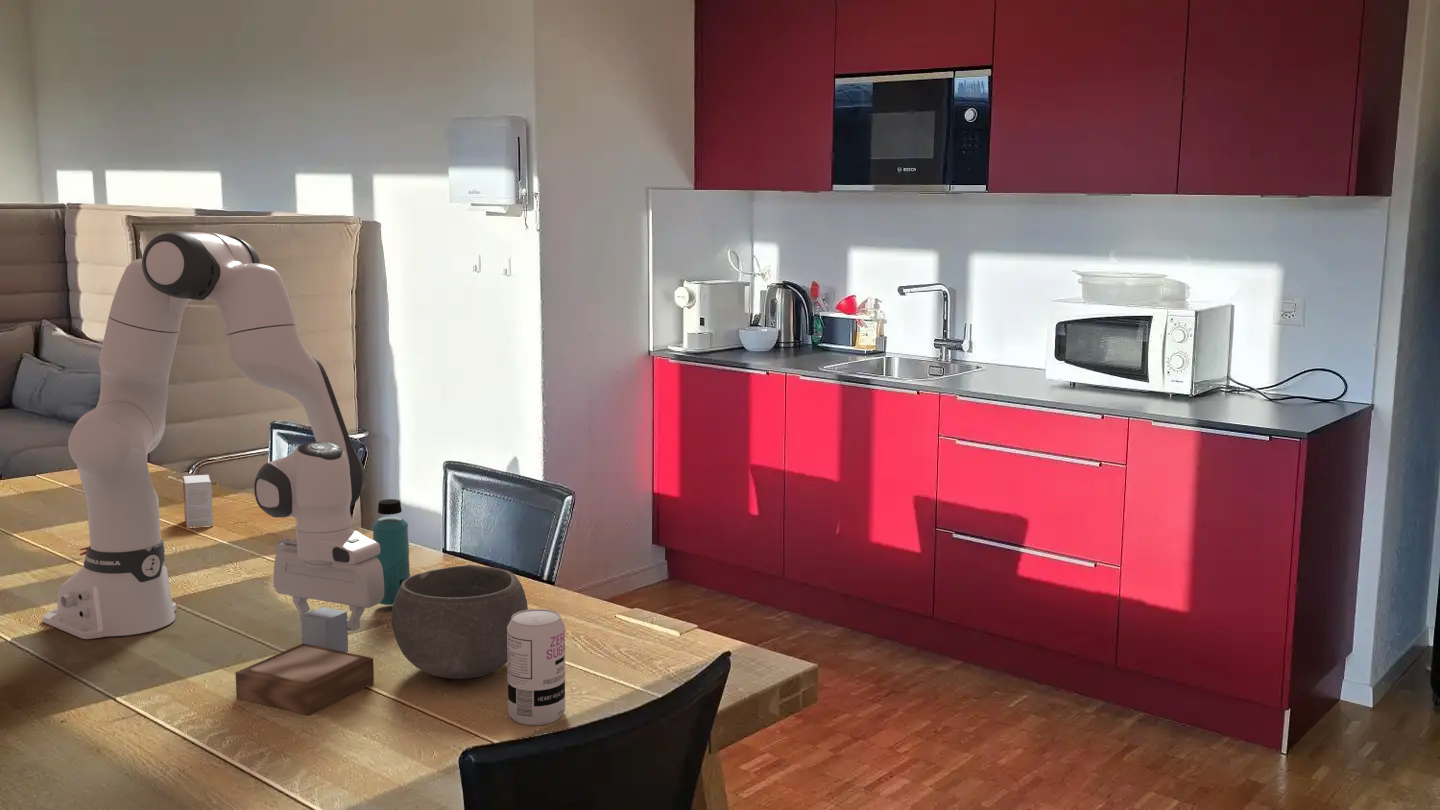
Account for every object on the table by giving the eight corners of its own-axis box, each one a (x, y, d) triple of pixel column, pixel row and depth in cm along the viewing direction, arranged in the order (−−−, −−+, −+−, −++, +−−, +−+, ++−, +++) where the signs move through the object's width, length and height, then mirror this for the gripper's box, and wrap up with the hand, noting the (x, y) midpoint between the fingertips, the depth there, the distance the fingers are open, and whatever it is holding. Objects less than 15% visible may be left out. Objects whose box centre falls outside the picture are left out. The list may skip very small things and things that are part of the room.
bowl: (463, 708, 187) (462, 610, 184) (363, 678, 198) (361, 585, 195) (555, 665, 204) (555, 575, 202) (459, 639, 215) (457, 554, 213)
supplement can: (510, 705, 188) (509, 607, 186) (566, 704, 189) (565, 607, 187) (505, 727, 180) (504, 626, 178) (564, 726, 181) (564, 625, 179)
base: (236, 697, 189) (235, 670, 188) (304, 667, 202) (303, 641, 201) (309, 715, 183) (308, 687, 183) (373, 682, 196) (373, 656, 195)
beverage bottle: (401, 614, 228) (399, 505, 224) (367, 611, 229) (364, 503, 226) (417, 603, 234) (415, 497, 231) (383, 600, 235) (381, 495, 232)
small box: (184, 521, 289) (182, 475, 287) (211, 518, 291) (209, 473, 289) (186, 529, 281) (183, 483, 280) (213, 527, 284) (211, 481, 282)
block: (302, 657, 206) (301, 615, 205) (324, 647, 211) (323, 607, 210) (326, 662, 204) (325, 620, 203) (348, 652, 209) (346, 611, 207)
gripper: (261, 541, 206) (266, 622, 208) (362, 555, 198) (366, 640, 200) (289, 531, 212) (294, 611, 214) (388, 545, 204) (392, 628, 206)
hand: (329, 625), depth 207 cm, fingers open, 8 cm apart
